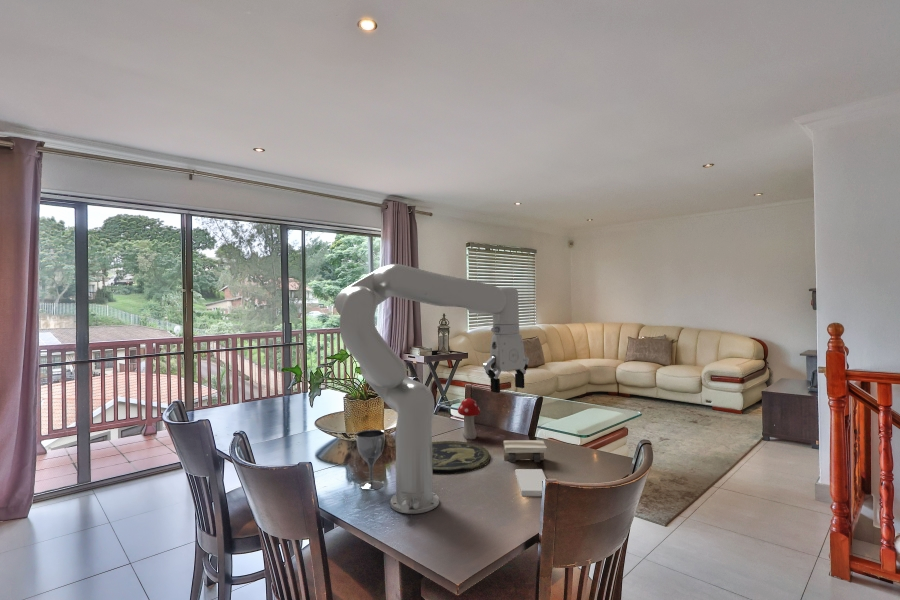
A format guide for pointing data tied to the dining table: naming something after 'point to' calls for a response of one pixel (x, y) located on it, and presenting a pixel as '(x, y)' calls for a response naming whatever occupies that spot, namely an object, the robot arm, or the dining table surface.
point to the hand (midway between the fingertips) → (507, 389)
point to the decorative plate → (457, 457)
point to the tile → (530, 481)
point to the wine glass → (370, 453)
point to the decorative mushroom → (469, 417)
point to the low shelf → (524, 450)
